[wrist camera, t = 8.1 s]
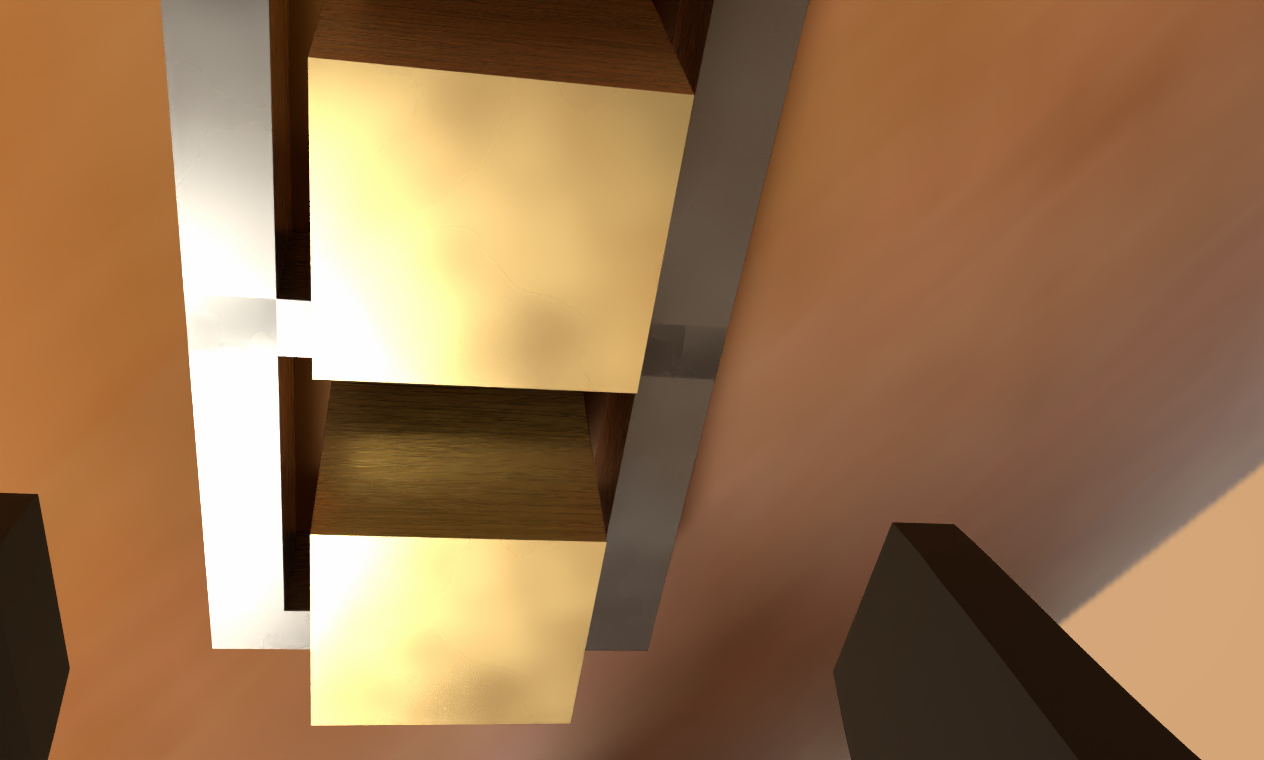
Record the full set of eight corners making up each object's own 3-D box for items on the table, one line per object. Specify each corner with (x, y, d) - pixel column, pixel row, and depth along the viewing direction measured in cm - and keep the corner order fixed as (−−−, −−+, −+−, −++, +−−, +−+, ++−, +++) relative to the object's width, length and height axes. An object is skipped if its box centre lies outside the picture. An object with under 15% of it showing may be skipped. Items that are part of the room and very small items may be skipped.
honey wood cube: (596, 209, 18) (636, 393, 14) (343, 190, 18) (313, 379, 14) (633, -41, 16) (694, 95, 12) (344, -76, 15) (308, 57, 11)
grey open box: (633, 575, 23) (672, 786, 19) (229, 568, 22) (180, 796, 18) (797, -149, 15) (919, -43, 11) (179, -244, 14) (69, -160, 10)
